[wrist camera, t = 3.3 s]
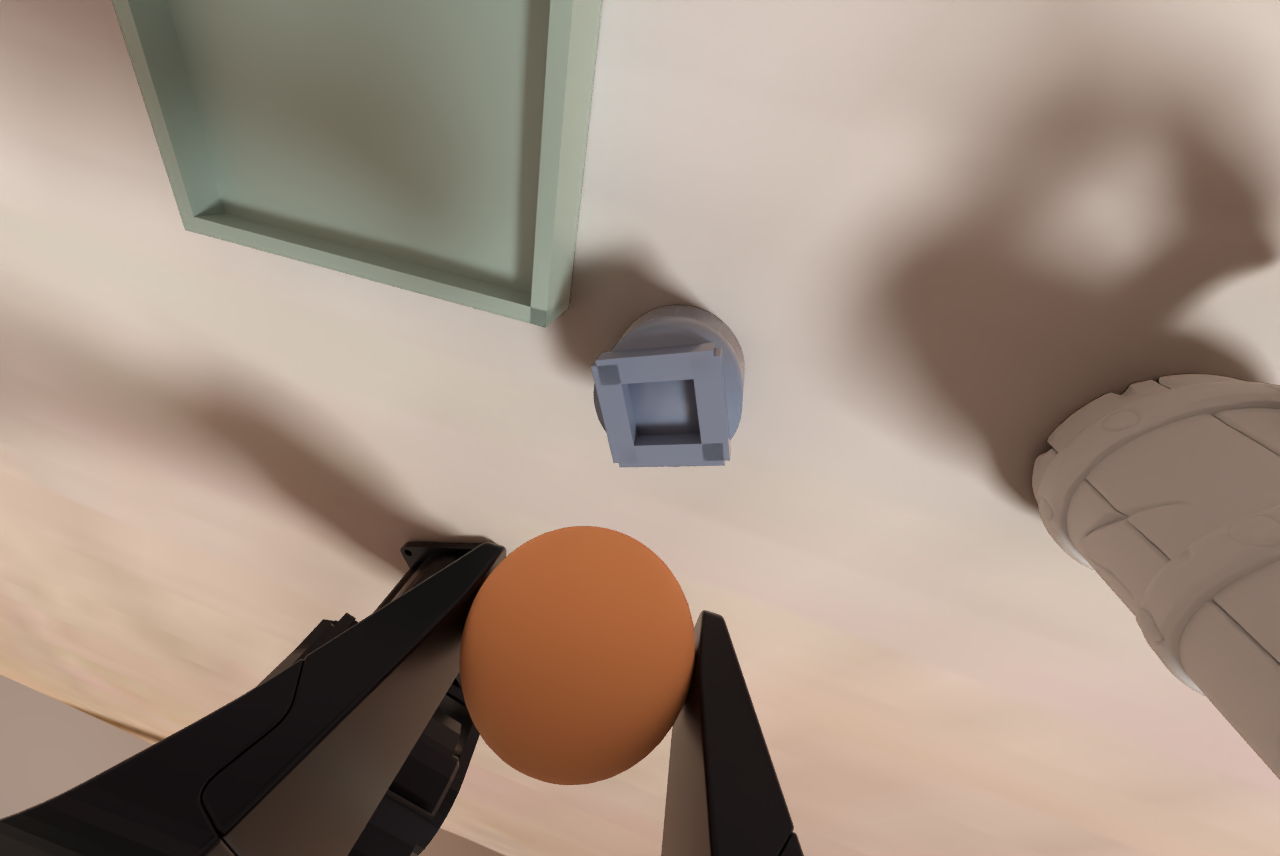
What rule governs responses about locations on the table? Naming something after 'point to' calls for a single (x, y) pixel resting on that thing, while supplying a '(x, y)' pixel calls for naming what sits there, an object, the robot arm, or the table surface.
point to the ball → (577, 655)
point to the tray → (380, 135)
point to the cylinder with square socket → (671, 390)
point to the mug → (1183, 530)
